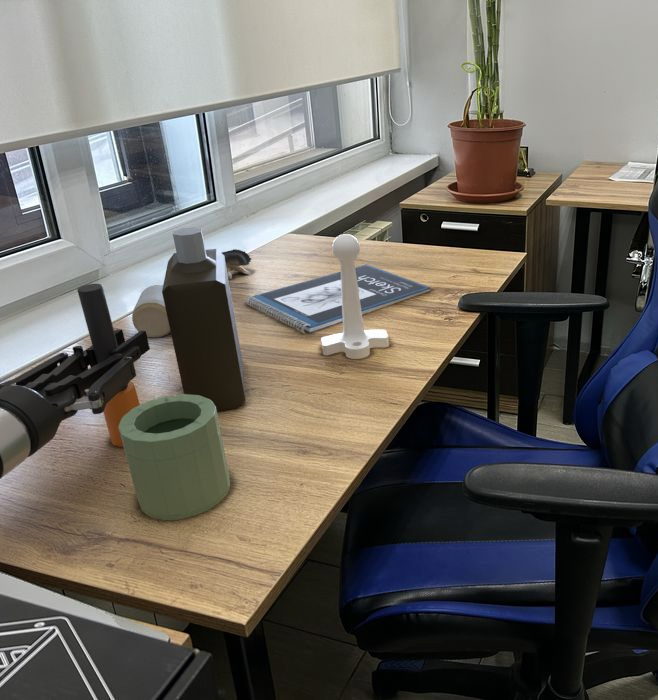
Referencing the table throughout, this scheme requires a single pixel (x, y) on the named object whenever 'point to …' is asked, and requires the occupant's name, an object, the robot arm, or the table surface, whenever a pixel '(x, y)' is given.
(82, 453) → the table surface
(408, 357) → the table surface
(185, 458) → the sage green tumbler
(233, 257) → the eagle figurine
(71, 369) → the robot arm
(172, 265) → the bottle
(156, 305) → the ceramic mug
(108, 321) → the brush
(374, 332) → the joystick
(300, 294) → the sketchbook
